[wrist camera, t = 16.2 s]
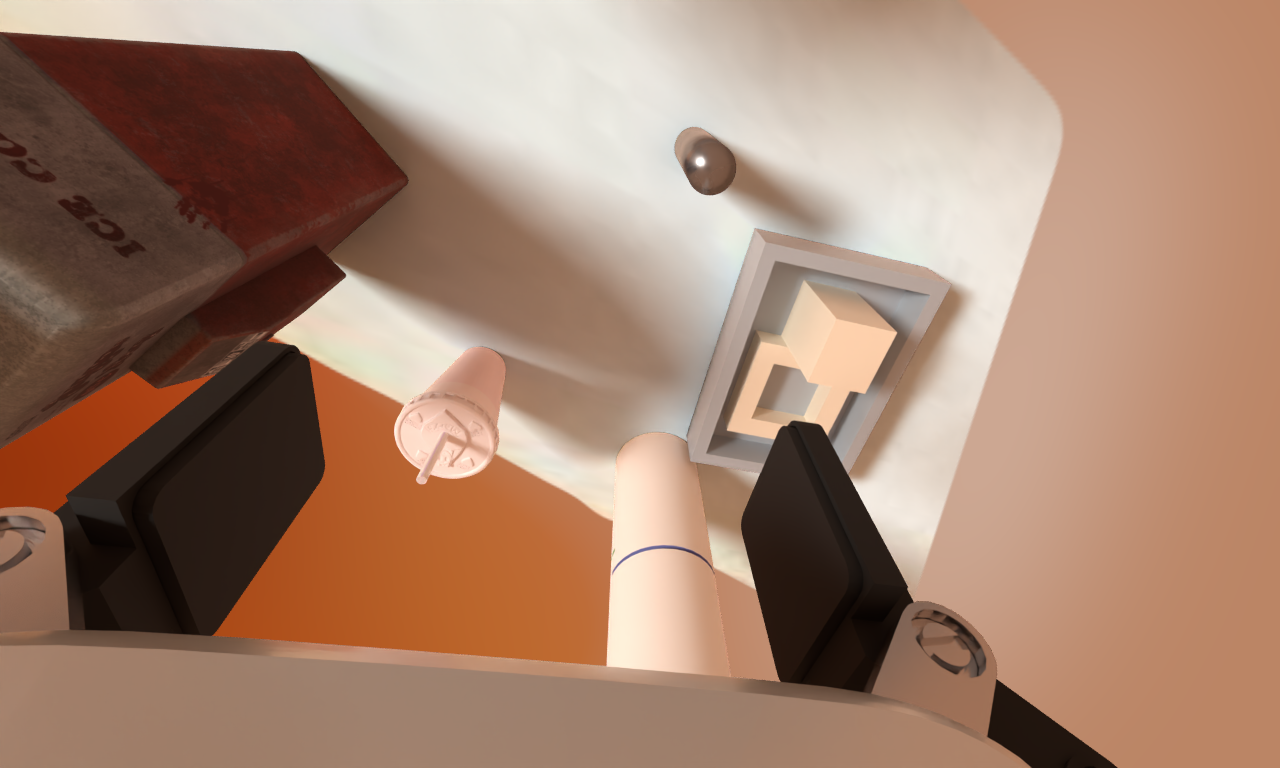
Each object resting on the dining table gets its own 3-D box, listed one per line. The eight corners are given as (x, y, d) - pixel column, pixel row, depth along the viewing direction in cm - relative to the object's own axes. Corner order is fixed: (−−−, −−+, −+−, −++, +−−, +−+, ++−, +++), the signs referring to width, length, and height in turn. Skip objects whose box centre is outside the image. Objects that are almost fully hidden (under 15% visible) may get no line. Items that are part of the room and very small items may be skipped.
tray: (754, 228, 36) (765, 242, 33) (926, 267, 38) (951, 284, 35) (686, 435, 45) (690, 461, 42) (827, 460, 47) (841, 486, 44)
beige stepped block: (880, 297, 38) (927, 339, 32) (813, 433, 45) (842, 490, 39) (777, 273, 37) (805, 312, 31) (723, 416, 44) (738, 471, 38)
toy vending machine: (348, 283, 38) (-144, 649, 14) (205, 144, 33) (-921, 332, 9) (436, 210, 36) (21, 500, 11) (294, 48, 31) (-930, -42, 7)
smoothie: (526, 338, 40) (482, 451, 28) (519, 407, 44) (476, 535, 32) (441, 323, 40) (358, 433, 28) (440, 395, 43) (365, 521, 31)
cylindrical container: (712, 454, 46) (780, 785, 25) (667, 506, 49) (694, 841, 28) (642, 419, 44) (652, 746, 23) (601, 475, 47) (574, 811, 26)
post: (679, 122, 33) (694, 138, 25) (716, 132, 33) (742, 149, 26) (670, 163, 34) (681, 189, 26) (706, 171, 34) (727, 199, 27)
